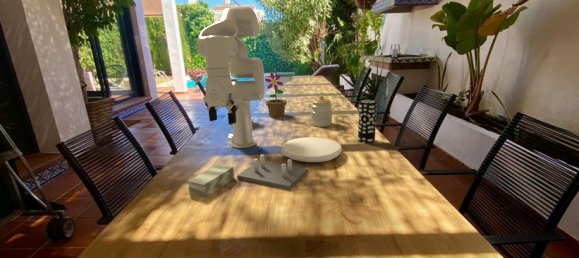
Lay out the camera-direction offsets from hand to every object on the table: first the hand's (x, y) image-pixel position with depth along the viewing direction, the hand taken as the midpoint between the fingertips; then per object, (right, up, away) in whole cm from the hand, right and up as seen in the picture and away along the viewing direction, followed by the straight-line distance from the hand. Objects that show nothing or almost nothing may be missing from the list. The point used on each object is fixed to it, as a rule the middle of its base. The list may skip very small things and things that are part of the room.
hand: (222, 122), depth 108 cm
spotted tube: (+62, -9, +44) cm, 77 cm away
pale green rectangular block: (-4, -23, +1) cm, 24 cm away
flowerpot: (+15, +6, +100) cm, 101 cm away
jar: (+43, 0, +76) cm, 88 cm away
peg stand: (+18, -20, +8) cm, 28 cm away
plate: (+34, -14, +28) cm, 46 cm away
